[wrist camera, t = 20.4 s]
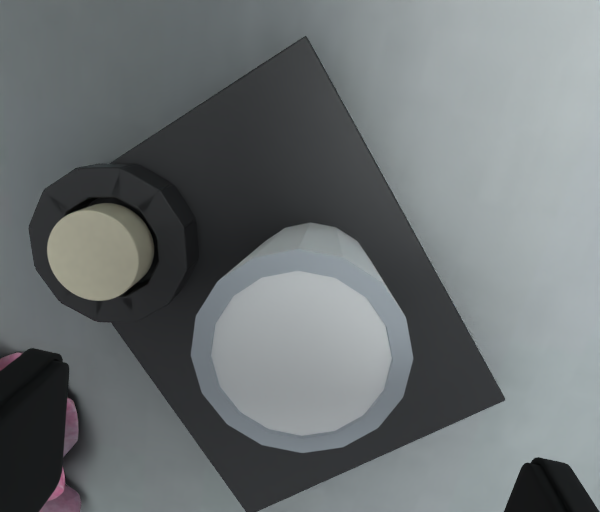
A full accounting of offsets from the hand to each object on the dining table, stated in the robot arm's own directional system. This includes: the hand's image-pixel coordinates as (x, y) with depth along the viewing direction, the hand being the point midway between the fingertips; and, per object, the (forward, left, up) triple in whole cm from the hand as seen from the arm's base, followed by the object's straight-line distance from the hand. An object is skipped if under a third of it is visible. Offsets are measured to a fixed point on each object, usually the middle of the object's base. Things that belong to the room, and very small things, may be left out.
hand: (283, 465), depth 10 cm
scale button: (-6, -6, -11) cm, 14 cm away
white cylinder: (0, 0, -13) cm, 13 cm away
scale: (0, -2, -14) cm, 14 cm away
